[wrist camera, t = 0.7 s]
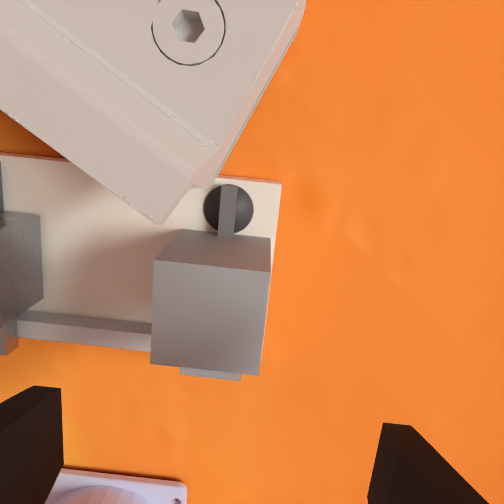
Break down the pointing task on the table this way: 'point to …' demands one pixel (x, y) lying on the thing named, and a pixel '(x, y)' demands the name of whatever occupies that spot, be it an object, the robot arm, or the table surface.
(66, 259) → the board
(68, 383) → the table surface
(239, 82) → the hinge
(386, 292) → the table surface
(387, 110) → the table surface
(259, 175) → the table surface
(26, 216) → the grey slider block
